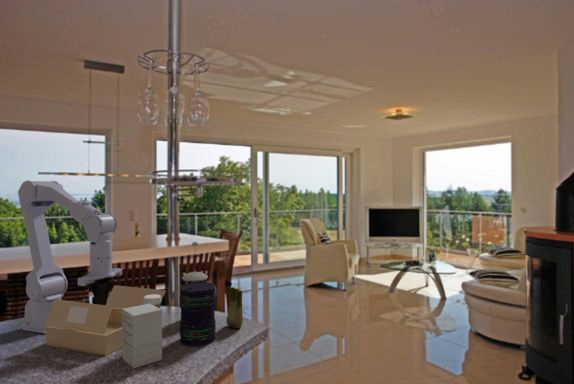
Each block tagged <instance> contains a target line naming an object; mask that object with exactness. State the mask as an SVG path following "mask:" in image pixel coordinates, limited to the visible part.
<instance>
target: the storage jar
mask: <svg viewBox="0 0 574 384" xmlns="http://www.w3.org/2000/svg"><path fill="white" fill-rule="evenodd" d="M212 283H213V282H212ZM212 283H211V282H210V283H207V281H206V282H204V281H203V282H202V281H195V282H188V283H184V284H182V285H180V287H179V291H180V292H179V309H180V319H181V321H180V322H179V337H180V338H179V343H180V344H181V345H183V346H186V347H191V348H192V347H195V348H196V347H197V348H198V347H205V346H209V345H211V344H212V343H214V342H215V340H216V330H217V329H216V328H217V326H216V323H217V322H216V317H215V310H216V309H215V307H216V303H217V301H216V299H217V298H216V297H217V293H216V294H215V287H216V284H214V283H213V284H212Z"/></svg>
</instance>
